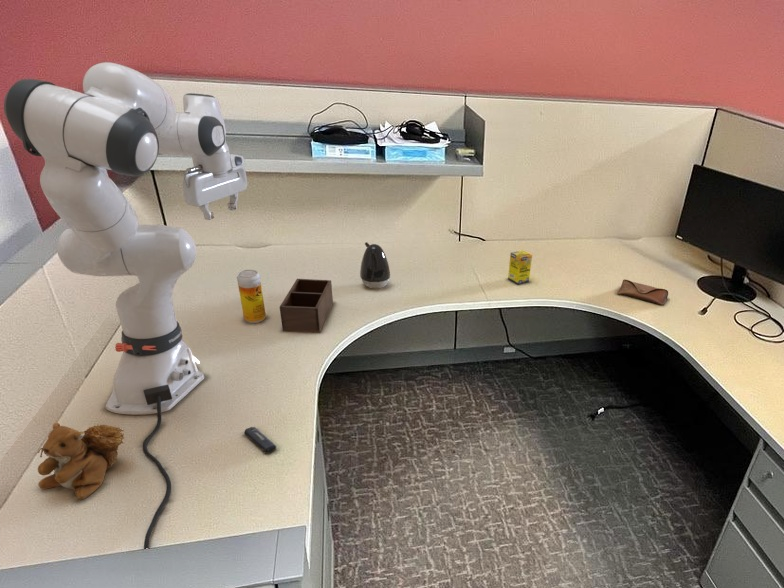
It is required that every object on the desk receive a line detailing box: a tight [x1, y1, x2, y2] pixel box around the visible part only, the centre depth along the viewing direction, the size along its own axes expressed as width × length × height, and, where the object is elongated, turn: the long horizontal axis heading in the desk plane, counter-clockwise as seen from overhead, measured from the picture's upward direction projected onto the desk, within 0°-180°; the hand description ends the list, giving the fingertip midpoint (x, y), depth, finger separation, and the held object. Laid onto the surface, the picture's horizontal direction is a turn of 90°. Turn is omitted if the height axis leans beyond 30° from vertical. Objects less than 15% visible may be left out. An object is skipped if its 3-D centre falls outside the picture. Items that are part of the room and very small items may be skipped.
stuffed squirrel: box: [37, 422, 125, 500], centre depth 107 cm, size 10×14×13 cm
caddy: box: [279, 278, 334, 334], centre depth 173 cm, size 20×11×8 cm, turn 5°
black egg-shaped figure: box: [359, 241, 391, 290], centre depth 194 cm, size 10×10×15 cm
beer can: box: [236, 269, 267, 324], centre depth 166 cm, size 6×6×15 cm
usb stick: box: [244, 426, 277, 454], centre depth 123 cm, size 10×3×2 cm, turn 50°
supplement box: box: [507, 249, 533, 285], centre depth 211 cm, size 6×6×11 cm
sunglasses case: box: [616, 279, 669, 306], centre depth 211 cm, size 18×7×7 cm
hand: (221, 214), depth 152 cm, fingers open, 8 cm apart
